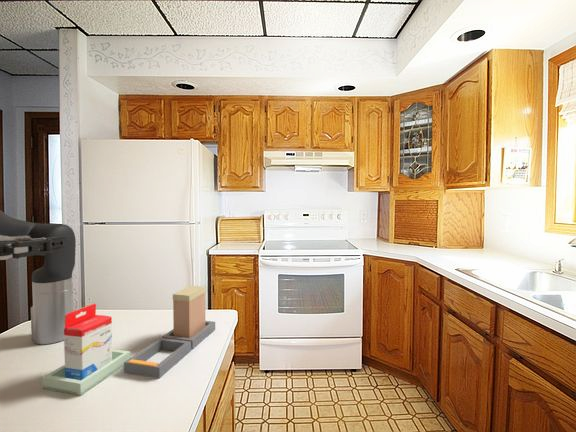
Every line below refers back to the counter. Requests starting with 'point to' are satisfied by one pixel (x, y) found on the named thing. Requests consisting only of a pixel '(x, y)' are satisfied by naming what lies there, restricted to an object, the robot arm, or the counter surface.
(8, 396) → the counter surface
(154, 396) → the counter surface
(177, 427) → the counter surface
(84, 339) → the ink box
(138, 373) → the grey holder frame
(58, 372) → the tray
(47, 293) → the robot arm
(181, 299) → the cartridge
